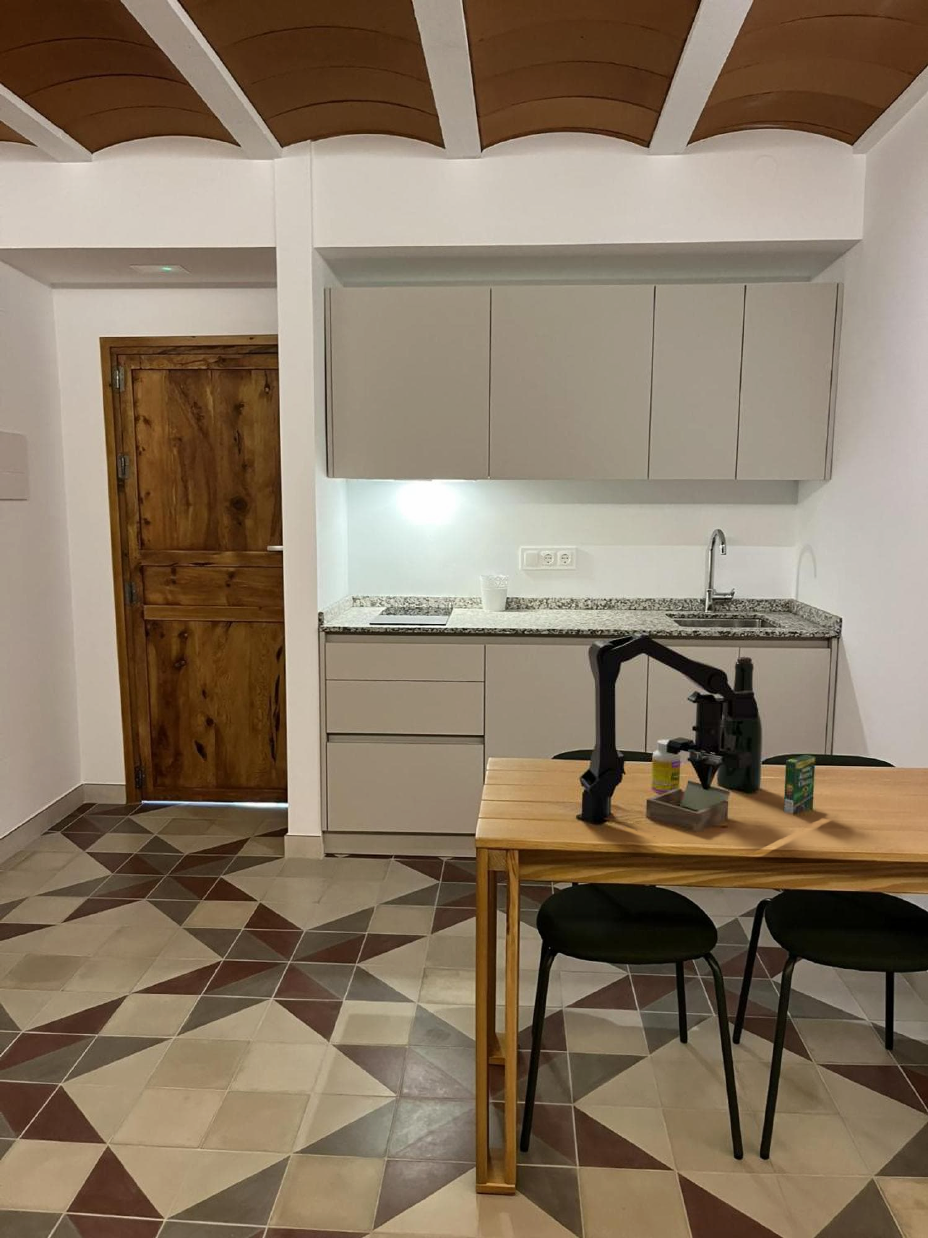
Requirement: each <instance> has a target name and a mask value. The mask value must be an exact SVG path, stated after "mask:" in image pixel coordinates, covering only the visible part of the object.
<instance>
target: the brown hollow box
mask: <svg viewBox="0 0 928 1238" xmlns="http://www.w3.org/2000/svg"><path fill="white" fill-rule="evenodd" d="M681 801H682V788H680V787H679V788H676V789H674V790H671V791H668V792H665V793H660V794H658V795H655V796H652V797H648V798H646V806H645V810H646V811H645V817H646V818H648V819H651V820H655V821H658V822H662V823H665V824H669V825H671V826H675V827H678V828H681V829H684V830H687V831H692V832H694V833H699V832H702V831H704V830H706V829H708V828H712V827H714V826H715V825H717V824H720V823H722V822H725V821H726V820H728V815H729V814H728V813H729V801H728V800H727V801H722V802H719V803H717V804H714V805H712V806H709V807H707V808H704V809H702V810H699V811H697V810H693V809H690V808H686V807H683V806H681V805H680V804H681Z"/></svg>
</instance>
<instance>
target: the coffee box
mask: <svg viewBox="0 0 928 1238" xmlns="http://www.w3.org/2000/svg"><path fill="white" fill-rule="evenodd" d="M815 767H816V757H815V756H812V755H809V754H803V755H800V756H797V757H794V758H790V759H787V760H785V774H784V775H785V776H784V796H783V797H784V798H783V812H784V813H787V814H791V815H796V814H799V813H802V812H807V811H808V810H810V811H814V789H815V772H816V771H815Z"/></svg>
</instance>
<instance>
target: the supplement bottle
mask: <svg viewBox="0 0 928 1238" xmlns="http://www.w3.org/2000/svg"><path fill="white" fill-rule="evenodd" d="M669 740H670V739H659V740H657V742H656V746H657V749H656V750H655V751H654V752H653V753H652V762H651V784H650V789H651V791H653V792H655V793H658V794H659V793H660V794H663V793H665V792H668V791H671V790H674V789H676V788H679V789H680V776H681V754H680V753H678V754H677V755H675V754H671V753H667V752H666V745H667V743H668V741H669Z"/></svg>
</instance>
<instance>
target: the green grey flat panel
mask: <svg viewBox="0 0 928 1238" xmlns="http://www.w3.org/2000/svg"><path fill="white" fill-rule="evenodd" d="M730 794H731V792H730V790H728V789H725V788H721V787H716V786H712V785H711V786H710V788H709V790H704V789H703V787H702V785H701V782H696V781H693V780H689V779H688V780H687V783H686V787H685V790H684V792H683V795H682V797H681V804H680V805H681V806H680V807H682V808H685V809H689V810H692V811H696V812H697V811H699V810H702V809H704V808H707V807H709V806H712V805H714V804H717V803H719V802H722V801H728V800H729V797H730Z"/></svg>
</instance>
